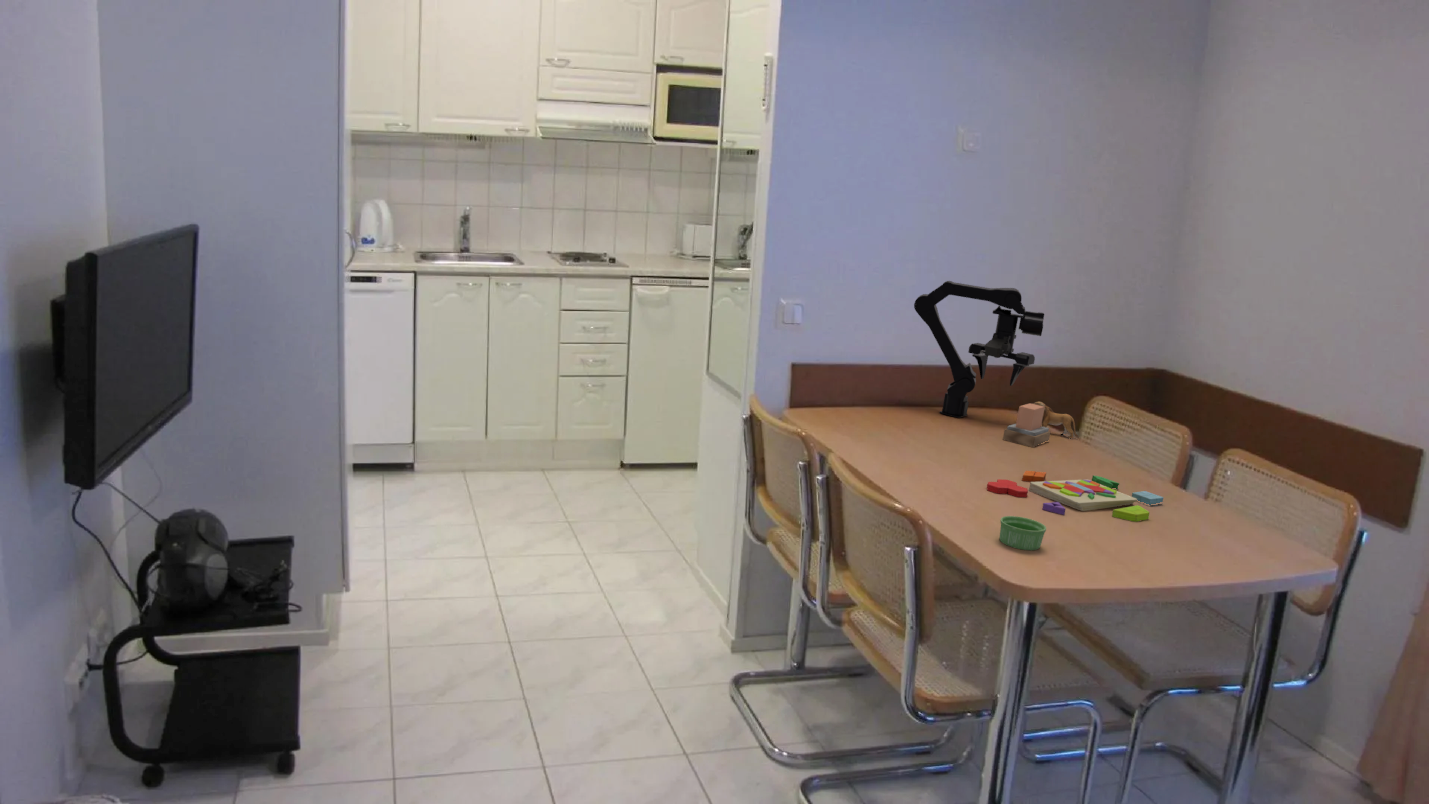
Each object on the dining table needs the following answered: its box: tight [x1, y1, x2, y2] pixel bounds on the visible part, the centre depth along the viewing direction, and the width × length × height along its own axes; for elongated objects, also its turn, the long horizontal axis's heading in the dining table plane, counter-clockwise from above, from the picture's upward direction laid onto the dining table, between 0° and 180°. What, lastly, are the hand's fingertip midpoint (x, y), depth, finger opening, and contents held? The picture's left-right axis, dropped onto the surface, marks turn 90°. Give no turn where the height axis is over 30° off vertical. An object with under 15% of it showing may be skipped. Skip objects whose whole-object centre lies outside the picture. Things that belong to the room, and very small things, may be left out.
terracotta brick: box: [1015, 403, 1045, 431], centre depth 325 cm, size 4×8×6 cm, turn 144°
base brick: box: [1002, 423, 1051, 448], centre depth 326 cm, size 9×12×4 cm
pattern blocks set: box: [986, 470, 1164, 523], centre depth 272 cm, size 38×34×3 cm
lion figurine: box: [1032, 401, 1080, 439], centre depth 339 cm, size 15×5×9 cm, turn 75°
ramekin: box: [999, 515, 1047, 551], centre depth 231 cm, size 9×9×4 cm
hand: (996, 382), depth 345 cm, fingers open, 9 cm apart
